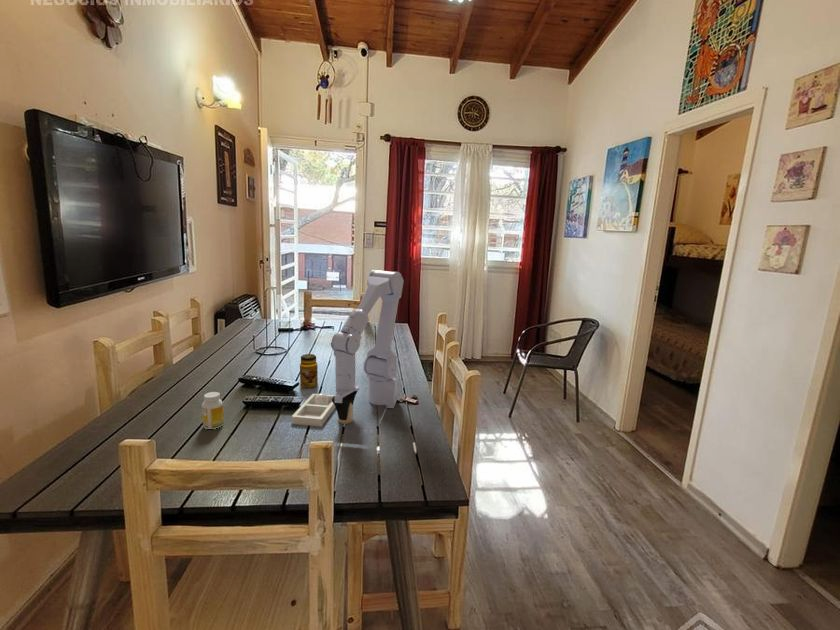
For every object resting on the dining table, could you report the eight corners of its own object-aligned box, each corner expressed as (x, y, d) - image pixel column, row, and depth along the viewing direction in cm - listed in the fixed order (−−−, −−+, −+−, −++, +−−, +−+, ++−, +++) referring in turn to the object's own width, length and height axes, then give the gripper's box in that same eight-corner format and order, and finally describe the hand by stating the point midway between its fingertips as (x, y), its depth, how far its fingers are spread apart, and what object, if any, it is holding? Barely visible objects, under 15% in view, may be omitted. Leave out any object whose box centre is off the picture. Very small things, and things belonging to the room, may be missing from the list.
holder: (339, 404, 135) (339, 395, 135) (321, 428, 119) (321, 419, 118) (312, 402, 136) (312, 393, 136) (291, 426, 120) (291, 416, 119)
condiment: (308, 393, 144) (308, 360, 141) (291, 387, 148) (290, 355, 145) (323, 386, 150) (323, 355, 147) (306, 381, 154) (305, 350, 151)
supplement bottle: (199, 430, 115) (197, 398, 113) (207, 421, 120) (205, 390, 118) (220, 430, 116) (218, 398, 114) (226, 421, 121) (225, 390, 119)
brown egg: (354, 419, 125) (354, 398, 124) (350, 425, 121) (350, 404, 119) (340, 417, 126) (340, 397, 124) (336, 424, 121) (335, 403, 120)
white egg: (330, 404, 133) (330, 391, 132) (325, 410, 129) (325, 397, 128) (317, 403, 134) (317, 390, 133) (312, 409, 129) (312, 395, 128)
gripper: (352, 382, 112) (351, 428, 115) (364, 365, 127) (364, 406, 129) (327, 380, 113) (327, 426, 116) (342, 363, 127) (342, 404, 130)
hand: (345, 415), depth 123 cm, fingers closed on brown egg, 4 cm apart
